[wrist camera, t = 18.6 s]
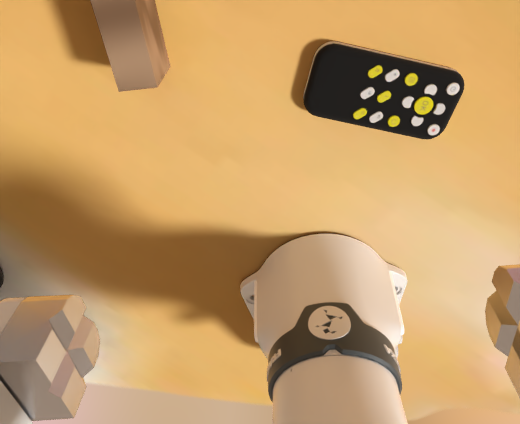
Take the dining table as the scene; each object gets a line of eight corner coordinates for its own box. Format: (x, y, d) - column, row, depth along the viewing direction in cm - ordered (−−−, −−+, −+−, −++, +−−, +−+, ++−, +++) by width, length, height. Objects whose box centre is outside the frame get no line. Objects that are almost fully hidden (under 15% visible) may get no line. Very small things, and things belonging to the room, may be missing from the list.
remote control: (318, 35, 36) (320, 42, 34) (465, 69, 37) (474, 77, 36) (298, 106, 40) (299, 115, 38) (433, 135, 41) (440, 145, 39)
